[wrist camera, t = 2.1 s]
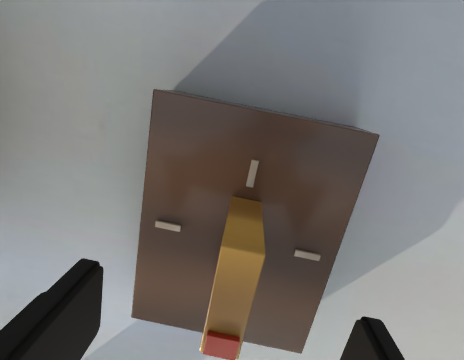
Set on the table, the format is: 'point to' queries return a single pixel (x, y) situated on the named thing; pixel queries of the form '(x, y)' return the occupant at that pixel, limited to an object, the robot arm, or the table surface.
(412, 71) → the table surface
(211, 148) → the plate
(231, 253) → the thumbturn
